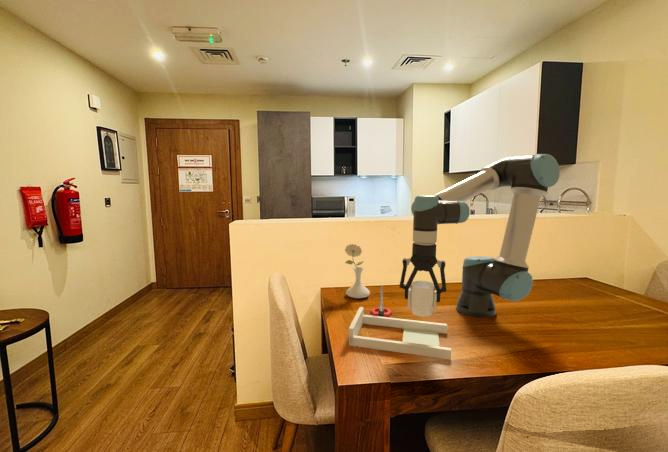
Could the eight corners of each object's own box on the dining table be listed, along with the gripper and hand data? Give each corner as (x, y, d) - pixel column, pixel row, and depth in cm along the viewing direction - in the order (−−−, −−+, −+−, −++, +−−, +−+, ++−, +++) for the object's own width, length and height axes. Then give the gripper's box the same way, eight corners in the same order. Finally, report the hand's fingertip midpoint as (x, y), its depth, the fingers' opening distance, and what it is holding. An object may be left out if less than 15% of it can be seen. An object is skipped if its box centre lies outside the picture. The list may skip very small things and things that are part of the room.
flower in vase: (374, 294, 154) (374, 243, 150) (363, 302, 144) (363, 248, 141) (350, 290, 160) (350, 241, 157) (338, 296, 151) (338, 244, 148)
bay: (446, 331, 116) (447, 316, 115) (450, 359, 97) (451, 341, 97) (359, 321, 124) (359, 306, 123) (348, 345, 106) (348, 328, 105)
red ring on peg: (371, 309, 138) (370, 317, 128) (372, 279, 136) (371, 285, 127) (391, 310, 136) (391, 318, 127) (392, 280, 135) (392, 286, 126)
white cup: (406, 308, 111) (407, 280, 110) (428, 308, 112) (429, 280, 110) (414, 318, 103) (415, 288, 102) (437, 317, 104) (439, 287, 103)
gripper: (456, 242, 105) (453, 308, 108) (393, 239, 111) (391, 302, 114) (459, 246, 98) (455, 317, 101) (391, 243, 103) (389, 310, 107)
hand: (421, 309), depth 107 cm, fingers closed on white cup, 8 cm apart
